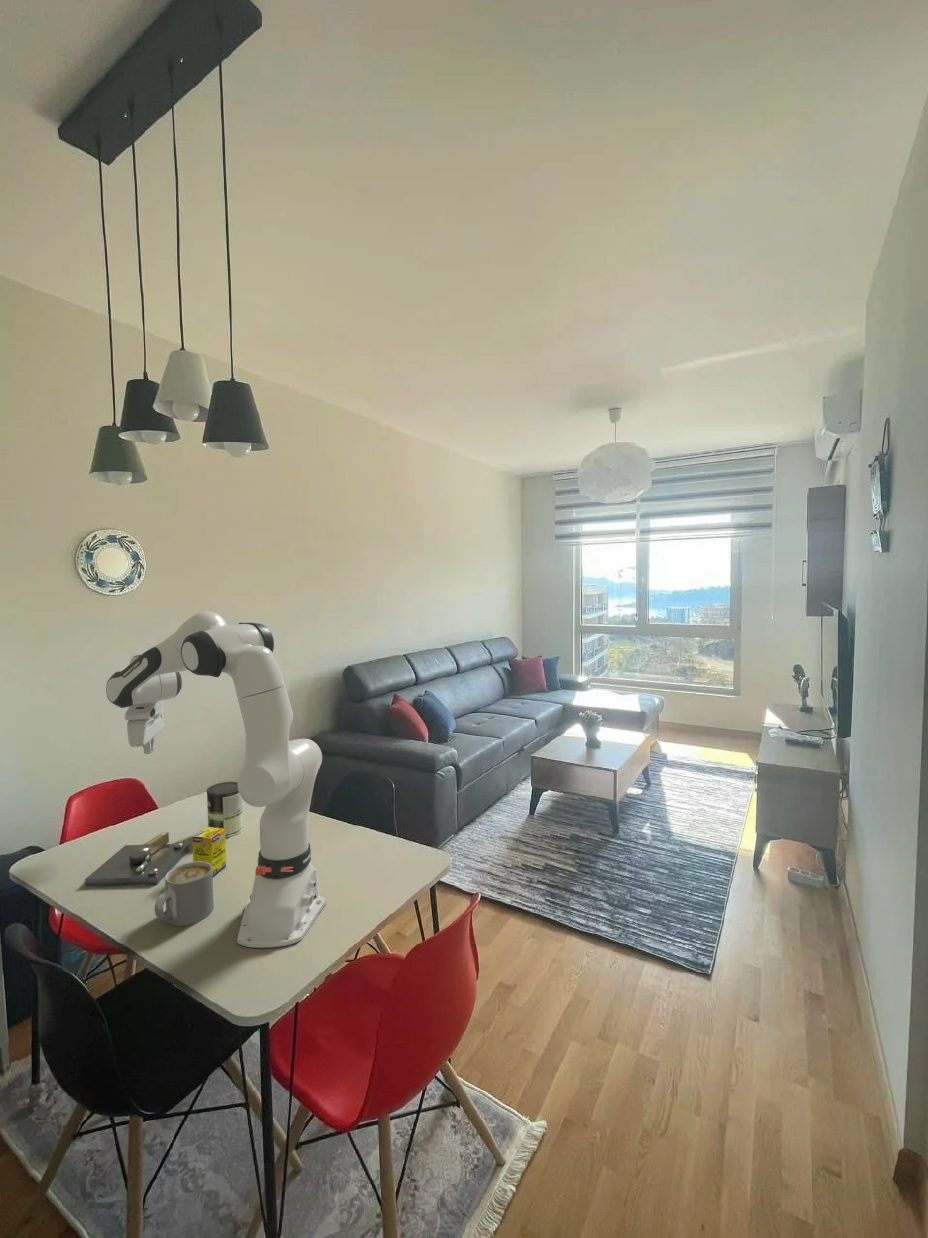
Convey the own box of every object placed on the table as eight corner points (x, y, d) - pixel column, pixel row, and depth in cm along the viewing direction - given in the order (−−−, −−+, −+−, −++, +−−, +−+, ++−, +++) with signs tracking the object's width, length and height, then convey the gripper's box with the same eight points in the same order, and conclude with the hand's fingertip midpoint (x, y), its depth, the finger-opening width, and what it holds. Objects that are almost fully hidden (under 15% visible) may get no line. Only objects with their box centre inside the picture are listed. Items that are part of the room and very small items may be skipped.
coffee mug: (199, 896, 135) (198, 857, 134) (221, 909, 129) (220, 869, 128) (142, 923, 124) (141, 881, 123) (164, 939, 118) (162, 895, 118)
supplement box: (212, 878, 143) (211, 838, 142) (192, 876, 144) (191, 836, 143) (226, 866, 149) (225, 828, 148) (207, 864, 150) (206, 826, 149)
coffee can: (205, 841, 164) (203, 795, 163) (210, 826, 173) (209, 783, 172) (242, 836, 167) (240, 791, 166) (244, 822, 176) (243, 780, 176)
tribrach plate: (157, 884, 140) (156, 872, 140) (85, 886, 139) (84, 874, 139) (189, 850, 158) (188, 839, 158) (125, 852, 157) (125, 841, 157)
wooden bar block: (141, 864, 145) (140, 853, 145) (125, 863, 146) (124, 852, 146) (173, 842, 158) (173, 832, 157) (158, 841, 158) (158, 831, 158)
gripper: (147, 700, 171) (149, 743, 172) (122, 716, 151) (124, 764, 152) (169, 699, 172) (171, 742, 173) (147, 714, 152) (149, 762, 153)
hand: (149, 752), depth 162 cm, fingers closed
